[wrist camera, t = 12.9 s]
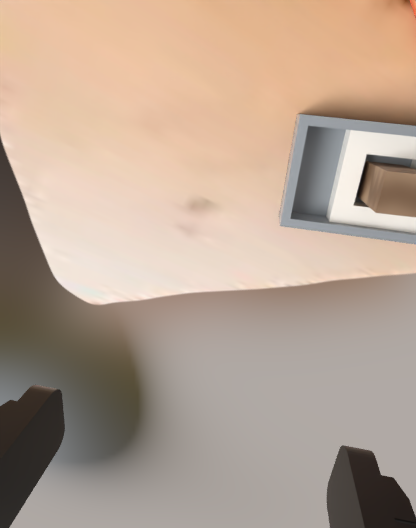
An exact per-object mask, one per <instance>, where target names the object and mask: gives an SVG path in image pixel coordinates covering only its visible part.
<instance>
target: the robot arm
mask: <svg viewBox="0 0 416 528" xmlns="http://www.w3.org/2000/svg"><path fill="white" fill-rule="evenodd" d="M64 431H65V424H64V413H63V401H62V393H61V391H60V390H59V389H55V388H49V387H44V386H39V385H33V386H32V387H30V388H29V389H28V390H27V391H26V392H25V393H24V395H23V396H22V397H21V398H20V399H19V400H18V401H13V400H10V401H8V402H7V403H5V404H3V405H2V406H0V528H9V527H10V525H11V524H12V522H13V521H14V519H15V517H16V516H17V514H18V513H19V511H20V510H21V508H22V506H23V505H24V503H25V501H26V500H27V498H28V497H29V495H30V494H31V492H32V491H33V488H34V487H35V486H36V484H37V483H38V481H39V479H40V478H41V476H42V475H43V473H44V471H45V470H46V468H47V467H48V465H49V463H50V462H51V460H52V458H53V457H54V456H55V454H56V452H57V451H58V449H59V447H60V445H61V442H62V439H63V436H64ZM327 510H328V516H329V523H330V528H416V517H415V514H414V511H413V509H412V506H411V503H410V500H409V498H408V497H407V496H406V494H405V493H404V492H403V490H402V489H401V488H400V486H399V485H398V484H397V482H396V481H395V479H394V478H392V477H387V476H382V475H381V474H380V471H379V467H378V464H377V461H376V458H375V455H374V453H373V452H372V451H369V450H364V449H359V448H353V447H348V446H341V447H340V449H339V452H338V455H337V458H336V461H335V464H334V467H333V470H332V473H331V476H330V479H329V483H328V488H327Z"/></svg>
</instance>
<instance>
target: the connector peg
mask: <svg viewBox="0 0 416 528" xmlns="http://www.w3.org/2000/svg"><path fill="white" fill-rule="evenodd" d="M357 196H358V197H359V198H360V199H361V200H362V201H363V202H364V203H365V204H366V205H368V206H369V207H370V208H371V209H372V210H373V211H374V212H375V213H381V214H390V215H398V216H407V217H416V170H415V169H412V168H410V167H407V166H404V165H399V164H389V163H379V162H369V161H366V163H365V167H364V171H363V175H362V179H361V183H360V187H359V191H358V195H357Z"/></svg>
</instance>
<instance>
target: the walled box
mask: <svg viewBox="0 0 416 528" xmlns="http://www.w3.org/2000/svg"><path fill="white" fill-rule="evenodd" d="M366 161H369V162H379V163H389V164H399V165H404V166H407V167H410V168H412V169H415V170H416V126H412V125H402V124H392V123H382V122H372V121H362V120H353V119H343V118H333V117H323V116H313V115H304V114H297V118H296V123H295V129H294V135H293V140H292V146H291V151H290V157H289V163H288V168H287V174H286V180H285V185H284V191H283V197H282V202H281V208H280V213H279V221H280V226H284V227H291V228H299V229H306V230H313V231H321V232H328V233H336V234H343V235H350V236H358V237H365V238H373V239H380V240H388V241H395V242H402V243H410V244H416V217H407V216H398V215H390V214H381V213H375V212H374V211H373V210H372V209H371V208H370V207H369V206H368V205H366V204H365V203H364V202H363V201H362V200H361V199H360V198H359V197H358V196H357V195H358V191H359V187H360V183H361V179H362V175H363V171H364V167H365V163H366Z"/></svg>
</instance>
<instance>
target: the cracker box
mask: <svg viewBox="0 0 416 528" xmlns="http://www.w3.org/2000/svg"><path fill="white" fill-rule="evenodd" d="M410 3H411V6H412V8H413V11H414V14H415V17H416V0H410Z"/></svg>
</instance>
